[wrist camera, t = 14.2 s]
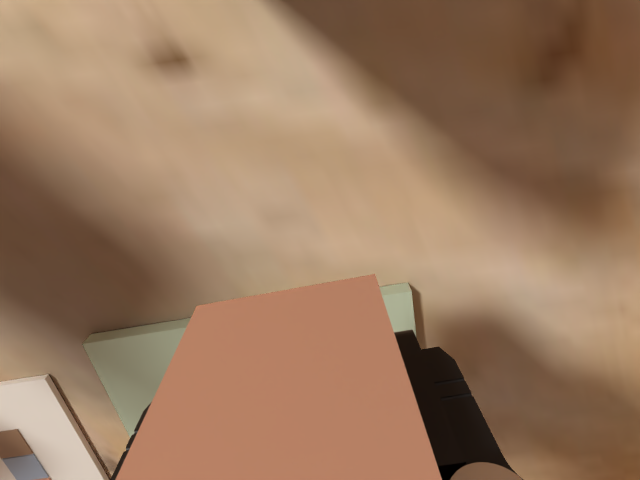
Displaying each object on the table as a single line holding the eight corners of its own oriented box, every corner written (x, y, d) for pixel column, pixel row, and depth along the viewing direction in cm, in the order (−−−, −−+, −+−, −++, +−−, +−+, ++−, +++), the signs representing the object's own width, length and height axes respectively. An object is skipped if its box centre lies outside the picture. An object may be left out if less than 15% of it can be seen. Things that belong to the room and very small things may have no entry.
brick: (196, 306, 10) (53, 612, 4) (374, 273, 10) (466, 553, 4) (243, 431, 12) (185, 762, 6) (394, 407, 11) (476, 726, 6)
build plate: (90, 334, 25) (82, 344, 24) (407, 282, 23) (411, 291, 22) (188, 530, 32) (184, 543, 31) (430, 499, 31) (434, 512, 30)
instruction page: (-92, 396, 26) (-99, 402, 26) (48, 374, 26) (43, 379, 25) (15, 533, 32) (10, 539, 32) (131, 517, 32) (128, 524, 31)
